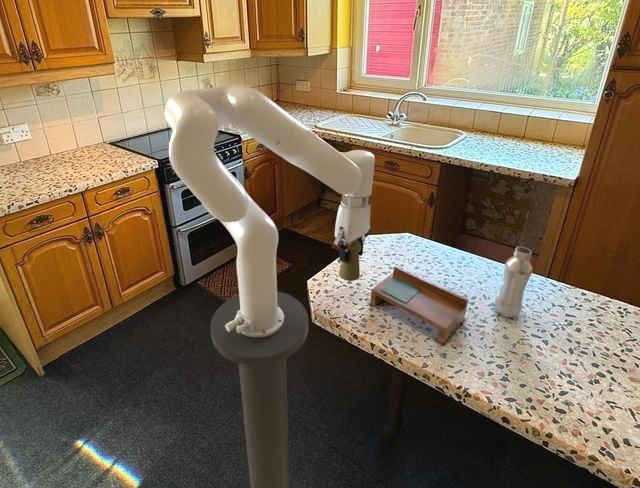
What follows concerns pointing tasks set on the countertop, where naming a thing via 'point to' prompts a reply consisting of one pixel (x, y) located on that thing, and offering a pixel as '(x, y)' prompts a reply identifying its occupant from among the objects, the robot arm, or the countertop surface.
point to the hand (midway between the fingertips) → (350, 257)
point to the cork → (351, 263)
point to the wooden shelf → (422, 300)
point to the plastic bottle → (514, 283)
